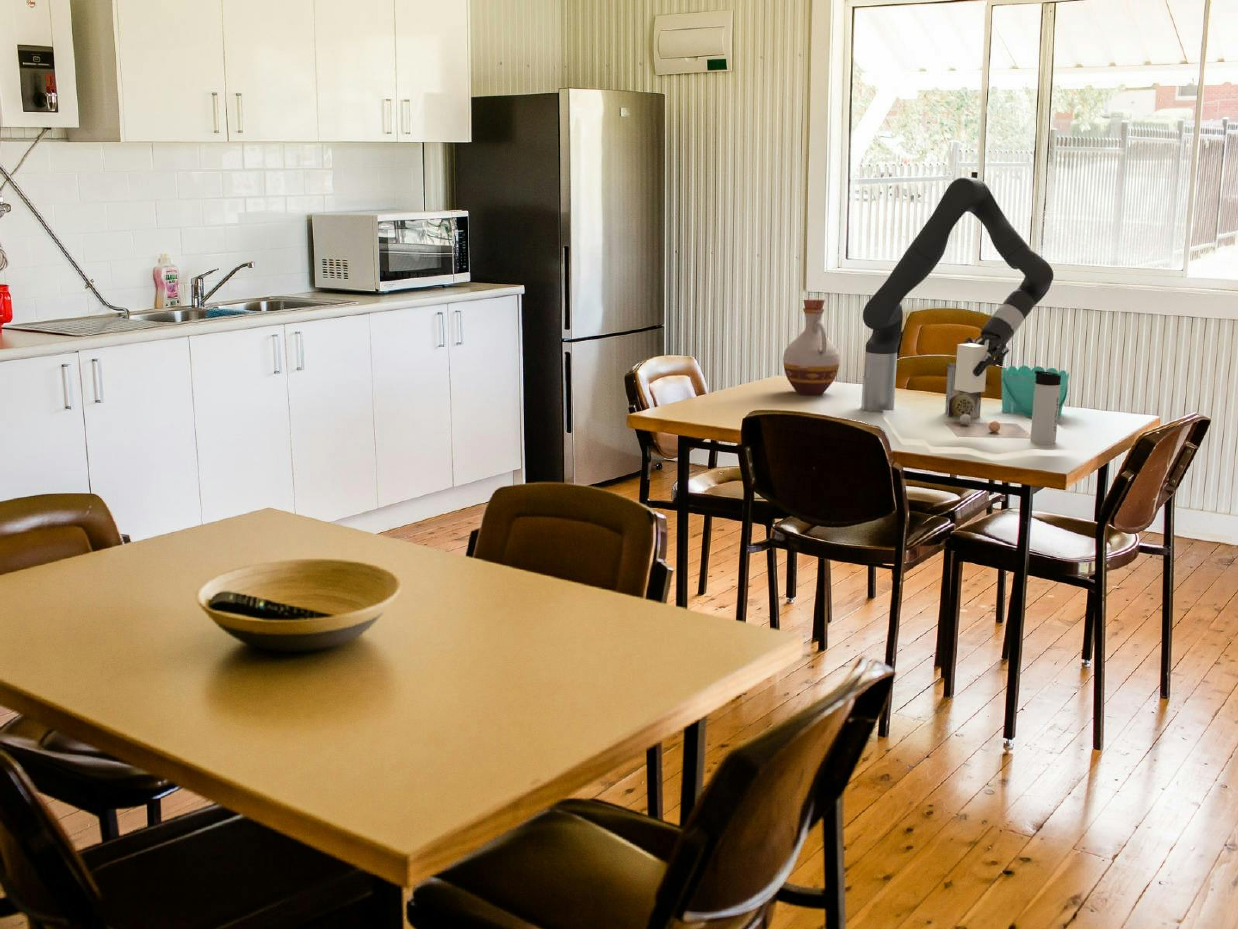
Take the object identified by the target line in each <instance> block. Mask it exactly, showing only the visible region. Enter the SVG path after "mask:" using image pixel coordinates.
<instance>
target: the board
mask: <svg viewBox="0 0 1238 929" xmlns="http://www.w3.org/2000/svg"><path fill="white" fill-rule="evenodd" d="M943 422H944V424H945V425H946V426H947V427H948V428H949V429H950V430H951V431H952V432H953V434H954V435H955V436H956V437H958V438H959V437H961V438H962V437H964V438H967V437H968V438H997V439H998V438H999V439H1001V438H1003V439H1030V438H1031V433H1029V432H1028V431H1027V430H1025V428H1023V427H1022V426H1021V425H1020V424H1019V423H1007V422H998V423H999V424H1000V429H999V431H997V432H992V431H990V430H989V424H990V423H991V422H972V421H971V422H970V423H969V424H968V425H963V424H961V423H960V421H958V422H957V421H943Z"/></svg>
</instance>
